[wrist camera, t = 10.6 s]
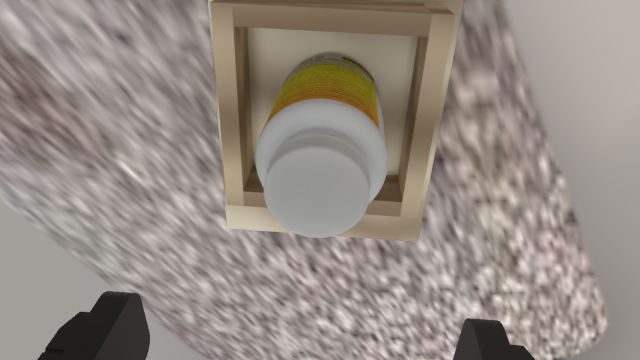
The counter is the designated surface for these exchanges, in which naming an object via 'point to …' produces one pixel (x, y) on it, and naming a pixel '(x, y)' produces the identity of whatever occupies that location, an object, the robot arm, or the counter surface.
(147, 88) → the counter surface
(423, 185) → the cup caddy
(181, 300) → the counter surface
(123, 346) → the robot arm
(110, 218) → the counter surface
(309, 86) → the supplement bottle
